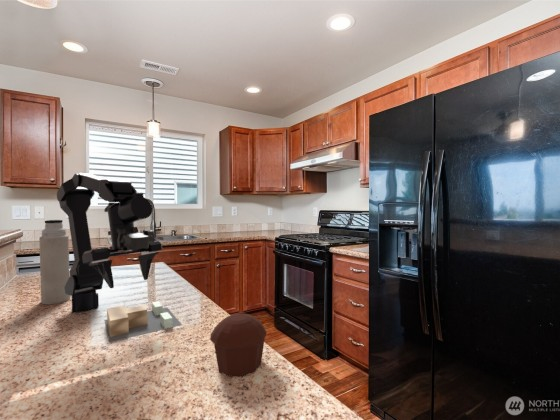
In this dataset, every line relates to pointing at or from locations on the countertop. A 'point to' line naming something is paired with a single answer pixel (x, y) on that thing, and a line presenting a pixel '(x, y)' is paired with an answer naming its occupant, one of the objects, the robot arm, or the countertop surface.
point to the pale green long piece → (162, 315)
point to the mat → (144, 326)
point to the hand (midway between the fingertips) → (129, 283)
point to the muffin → (238, 344)
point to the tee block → (125, 319)
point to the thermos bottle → (54, 262)
